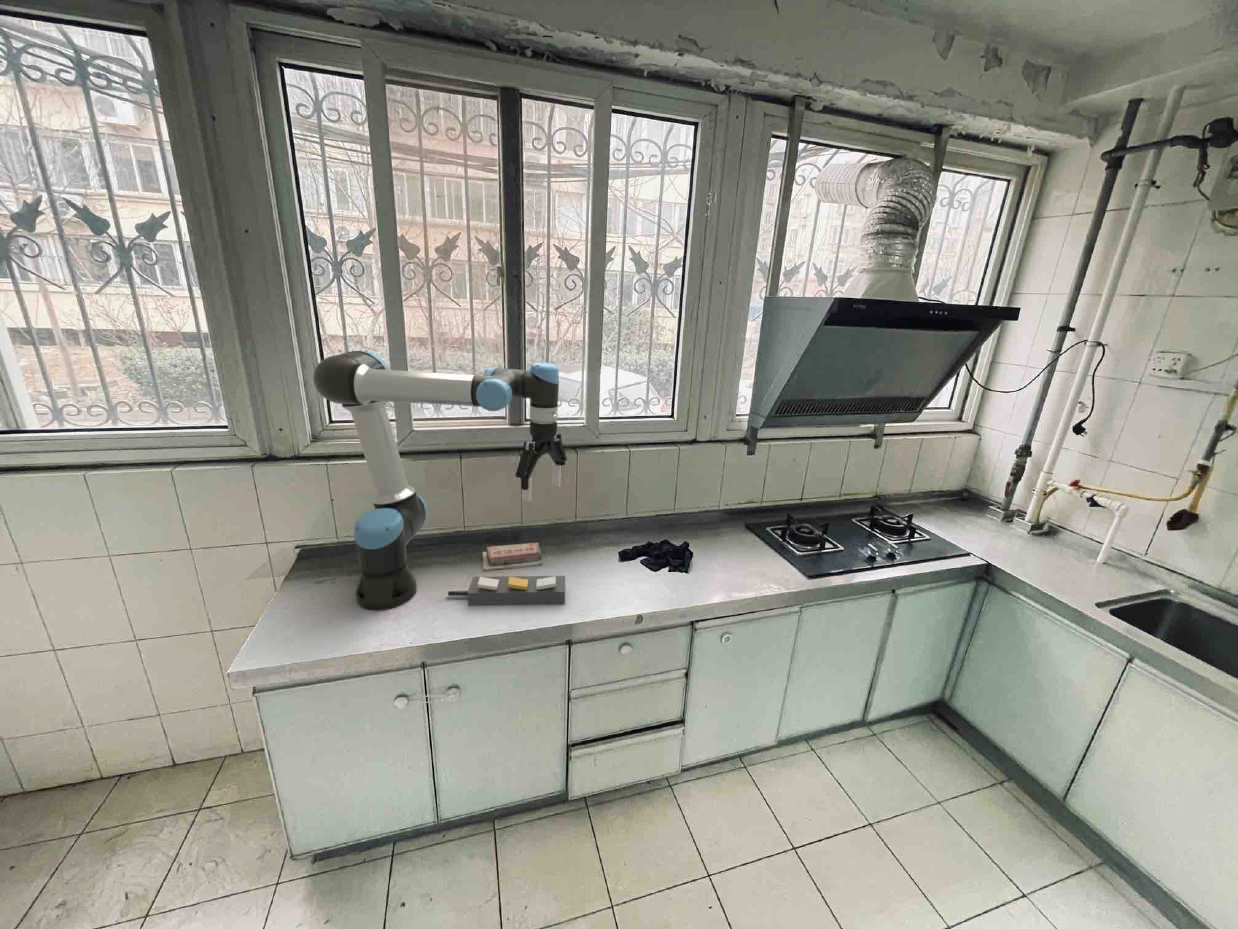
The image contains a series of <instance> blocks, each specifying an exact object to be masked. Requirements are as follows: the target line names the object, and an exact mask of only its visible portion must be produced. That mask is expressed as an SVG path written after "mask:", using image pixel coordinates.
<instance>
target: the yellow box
mask: <svg viewBox="0 0 1238 929" xmlns="http://www.w3.org/2000/svg"><path fill="white" fill-rule="evenodd" d="M527 585H528V579H522V578H516V577H509V582H508V587H511V588H517V589H524V590H527Z"/></svg>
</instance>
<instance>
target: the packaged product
mask: <svg viewBox="0 0 1238 929" xmlns="http://www.w3.org/2000/svg"><path fill="white" fill-rule="evenodd" d="M541 553H542V551H541V548H540V546H539V542H529V543H517V544H515V543H514V544H505V545H493V546H487V547H486V551H482V569H483V571H484V572H487V571H488V572H489V571H495V570H505V569H518V568H525V567H533V566H534V567H535V566H542V565H543V560H542V554H541Z"/></svg>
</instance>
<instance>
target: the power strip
mask: <svg viewBox="0 0 1238 929" xmlns="http://www.w3.org/2000/svg"><path fill="white" fill-rule="evenodd" d="M554 576H556V587H550V588H545V589H539V590H537V588H536V584H537V579H542V578H548V577H554ZM480 577H481V576H472V579H471V581H470V584H469V588H468V590H463V591H461V590H459V591H458V590H455V591H454V590H452V591H451V590H450V591H448V592H447V595H448V596H449V597H453V596H454V597H456V596H457V597H459V596H461V597H465V596H466V597H467V606H469V607H472V606H532V605H533V606H538V605H544V606H546V605H565V604H566V575H529V576H528V575H527V576H526V575H523V576H522V575H513V576H512V575H511V576H483V577H484V578H491V579H497V580H499V583H498V587H497V590H491V589H485V588H478V587H477V586H478V582H479V579H480ZM509 577H516V578H522V579H528V585H527V590H524V589H517V588H511V587H508V582H509Z"/></svg>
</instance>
